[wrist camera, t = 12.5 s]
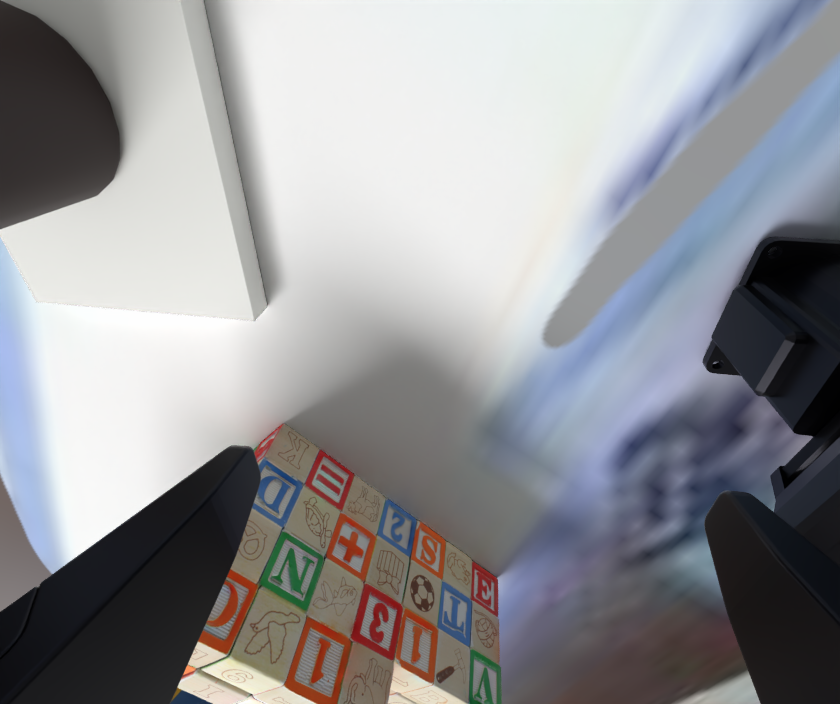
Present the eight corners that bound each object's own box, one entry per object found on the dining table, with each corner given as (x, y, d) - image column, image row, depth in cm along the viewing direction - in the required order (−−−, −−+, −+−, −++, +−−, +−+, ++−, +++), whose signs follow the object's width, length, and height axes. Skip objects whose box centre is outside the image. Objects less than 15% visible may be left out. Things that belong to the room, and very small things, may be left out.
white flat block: (172, -147, 13) (139, -169, 12) (267, 306, 22) (254, 321, 21) (-156, -137, 15) (-218, -156, 13) (59, 289, 24) (35, 302, 22)
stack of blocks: (501, 576, 34) (505, 793, 24) (444, 596, 37) (427, 797, 27) (282, 419, 27) (161, 630, 17) (235, 460, 30) (108, 660, 20)
